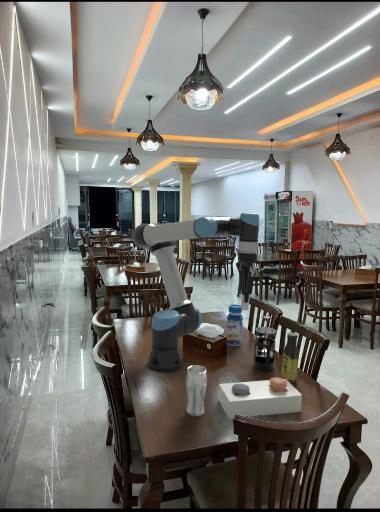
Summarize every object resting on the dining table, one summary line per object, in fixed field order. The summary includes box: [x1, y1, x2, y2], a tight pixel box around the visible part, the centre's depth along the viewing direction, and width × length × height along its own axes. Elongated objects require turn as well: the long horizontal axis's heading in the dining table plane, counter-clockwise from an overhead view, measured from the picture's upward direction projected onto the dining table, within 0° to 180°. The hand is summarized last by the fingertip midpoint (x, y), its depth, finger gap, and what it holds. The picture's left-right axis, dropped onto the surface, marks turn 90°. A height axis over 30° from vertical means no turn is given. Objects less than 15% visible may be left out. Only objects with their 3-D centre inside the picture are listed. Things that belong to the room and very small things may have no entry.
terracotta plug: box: [269, 377, 287, 392], centre depth 127 cm, size 6×6×6 cm
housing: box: [217, 379, 303, 419], centre depth 126 cm, size 26×12×6 cm, turn 102°
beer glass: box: [185, 364, 208, 417], centre depth 121 cm, size 7×7×15 cm
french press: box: [252, 315, 277, 372], centre depth 157 cm, size 12×9×23 cm
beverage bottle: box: [225, 303, 244, 347], centre depth 184 cm, size 8×8×20 cm
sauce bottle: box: [280, 331, 300, 384], centre depth 145 cm, size 6×6×20 cm
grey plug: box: [232, 384, 250, 396], centre depth 124 cm, size 6×6×6 cm
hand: (244, 309), depth 145 cm, fingers closed
